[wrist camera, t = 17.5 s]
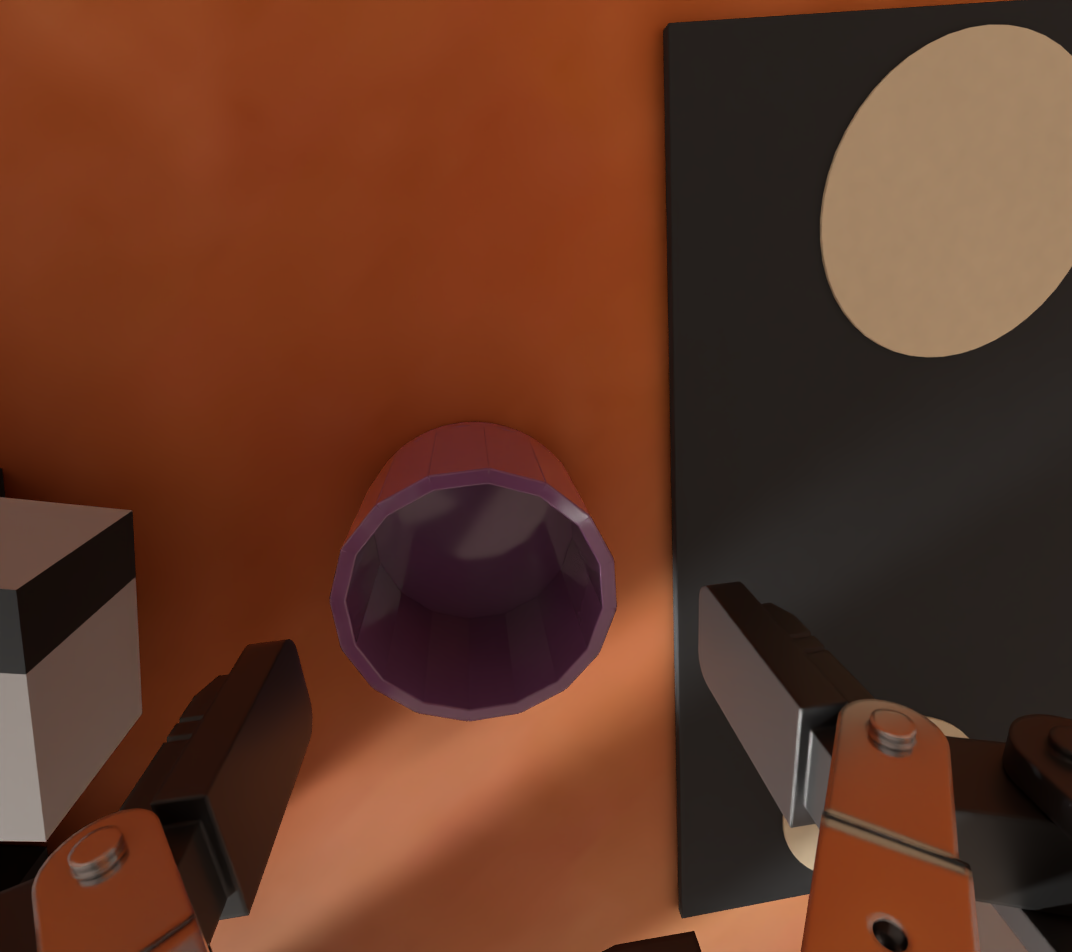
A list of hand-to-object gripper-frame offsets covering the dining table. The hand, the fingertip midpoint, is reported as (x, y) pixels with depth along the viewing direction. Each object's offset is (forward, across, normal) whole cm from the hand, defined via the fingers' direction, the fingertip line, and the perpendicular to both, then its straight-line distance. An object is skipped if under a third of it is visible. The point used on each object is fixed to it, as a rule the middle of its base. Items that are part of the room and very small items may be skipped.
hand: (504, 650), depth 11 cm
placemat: (+6, -14, +3) cm, 15 cm away
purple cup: (+6, 0, 0) cm, 6 cm away
